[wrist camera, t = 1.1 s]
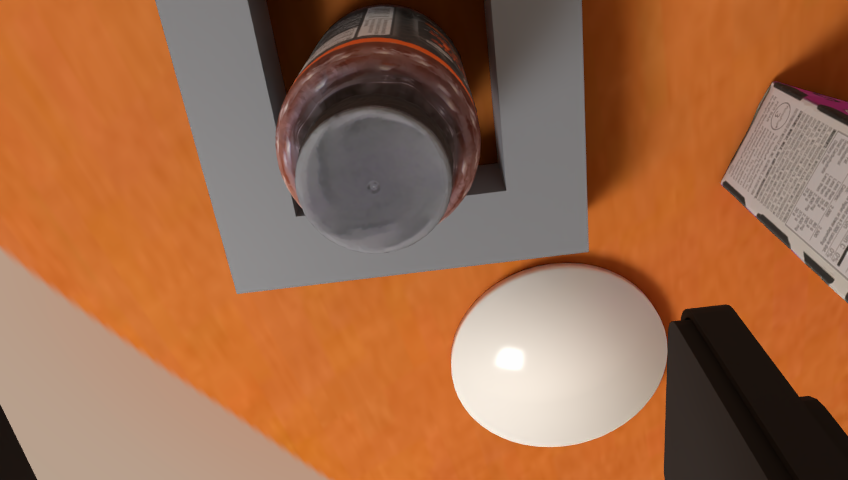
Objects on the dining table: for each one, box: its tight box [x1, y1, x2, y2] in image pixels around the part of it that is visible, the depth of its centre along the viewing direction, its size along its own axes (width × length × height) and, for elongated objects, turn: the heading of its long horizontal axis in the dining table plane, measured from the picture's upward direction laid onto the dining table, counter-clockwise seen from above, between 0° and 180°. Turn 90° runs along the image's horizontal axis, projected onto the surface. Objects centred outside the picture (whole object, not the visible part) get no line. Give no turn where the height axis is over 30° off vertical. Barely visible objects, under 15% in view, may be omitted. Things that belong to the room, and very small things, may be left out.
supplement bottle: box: [275, 4, 481, 254], centre depth 23 cm, size 6×6×11 cm
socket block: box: [155, 0, 589, 294], centre depth 27 cm, size 14×14×3 cm
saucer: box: [451, 263, 667, 447], centre depth 34 cm, size 10×10×1 cm
